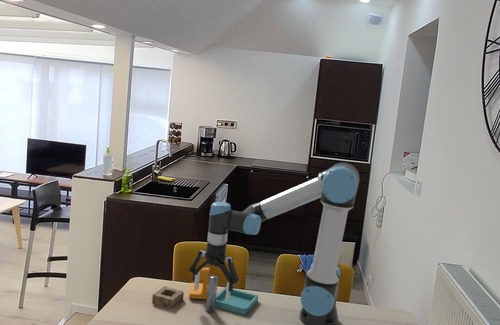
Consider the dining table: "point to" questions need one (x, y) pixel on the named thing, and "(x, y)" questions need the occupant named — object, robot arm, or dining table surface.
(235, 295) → the tray
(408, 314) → the dining table surface
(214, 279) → the pin
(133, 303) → the dining table surface
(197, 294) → the bracket
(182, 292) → the tan square sleeve
